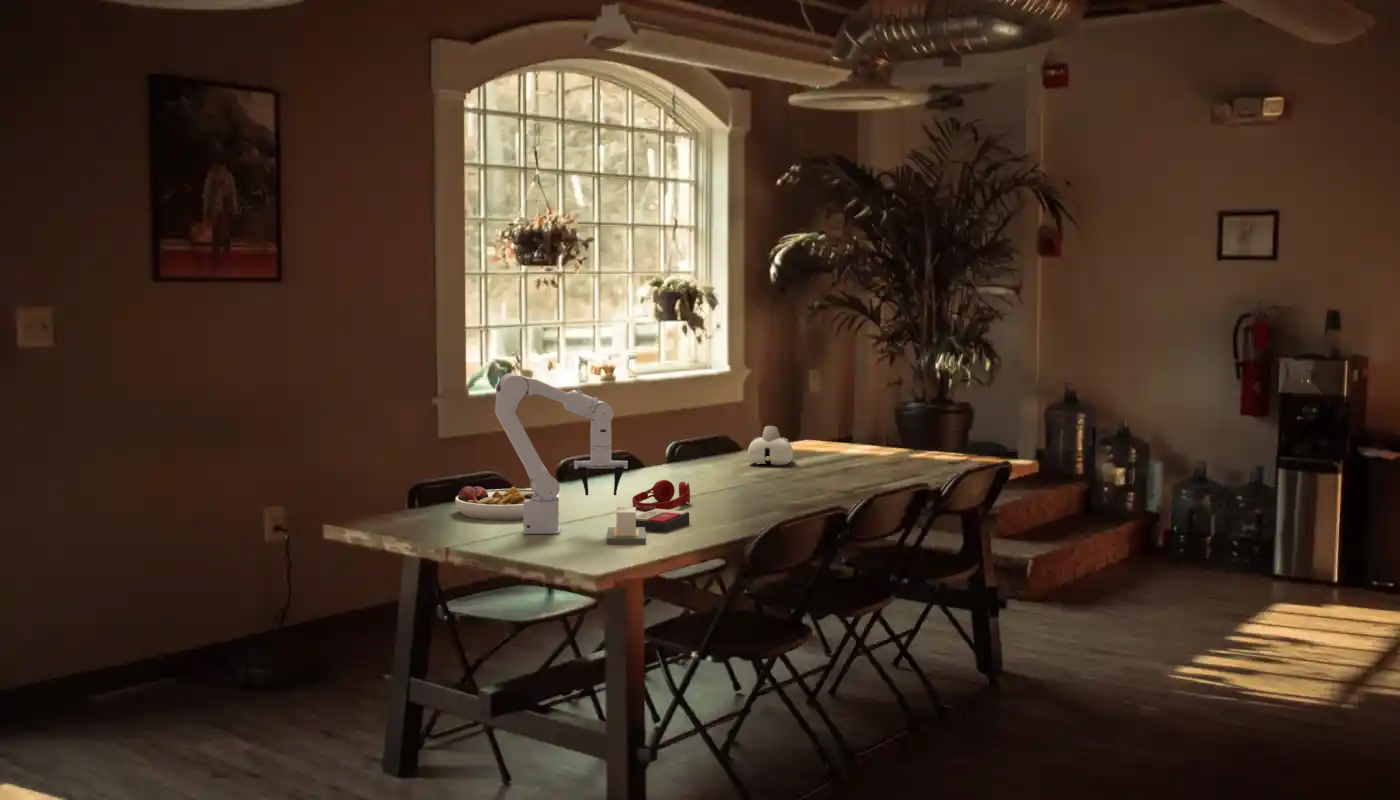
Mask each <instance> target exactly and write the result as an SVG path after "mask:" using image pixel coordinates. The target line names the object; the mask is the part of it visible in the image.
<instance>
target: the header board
mask: <svg viewBox="0 0 1400 800" xmlns="http://www.w3.org/2000/svg"><path fill="white" fill-rule="evenodd" d="M606 545H646V531H645V527H636V535H617V526H616V527H615V526H612V527H611V526H608V527H607V532H606Z"/></svg>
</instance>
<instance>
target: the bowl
mask: <svg viewBox="0 0 1400 800" xmlns="http://www.w3.org/2000/svg"><path fill="white" fill-rule="evenodd" d="M533 494H534V492H533V490H532V489H531V488H530V489H527V488H516V487H515V486H512V487H510V488H501V489H499V488H497V489H486V488H484V487H482V486H474V487H473V486H471V485H470V486H469V485H466V486H463V487H462V488H461V489H460V490H459V492H458V495H456V496H455V500H454V501H455V506H456V509H457V510H458V511H459V512H460V513H461V514H463V515H464V516H466V517H468V516H469V517H468V518H472V517H474V518H473V519H477V518H482V519H481V520H486V519H494V520H493V521H513V520H515V519H519V520H524V500H526V499H532V495H533ZM557 496H558V504H559V502H560V496H559V494H558V495H557ZM515 521H516V520H515Z"/></svg>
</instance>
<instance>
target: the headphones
mask: <svg viewBox="0 0 1400 800" xmlns="http://www.w3.org/2000/svg"><path fill="white" fill-rule="evenodd" d="M675 489H676V488H675V486H674V484H673V483H672V482H671V481H670V480H667V479H661V480H657V481H656V482H655V484H654V485H653V486H652V487H651V488H649V489H647V490H645V491H641V492H639V493H637V494H635V495H634V496H633V497H632V499H631V500H632V507H636V511H637V510H638V511H643V512H644V511H645V512H647V511H651V510H654V509H667V510H674V509H676V508H678V507H680V506H686V505H687V504H690V502H691V487H690V483H689V482H687V483H686V481H680V482H679V483H678V497H676V498H673V497H674V496H675V492H676V491H675ZM649 494H650V495H649ZM652 497H653V498H654V500H655V501H657V502H653V503H652V502H651V503H649V502H643V501H646V500H647V499H650V498H652Z"/></svg>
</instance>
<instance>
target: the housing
mask: <svg viewBox="0 0 1400 800" xmlns="http://www.w3.org/2000/svg"><path fill="white" fill-rule="evenodd" d="M615 515H616V527H617V535H636V516H637V509H636V507H633V506H631V507H629V506H627V507H625V506H622V507H621V506H619V507H616V514H615Z"/></svg>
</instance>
